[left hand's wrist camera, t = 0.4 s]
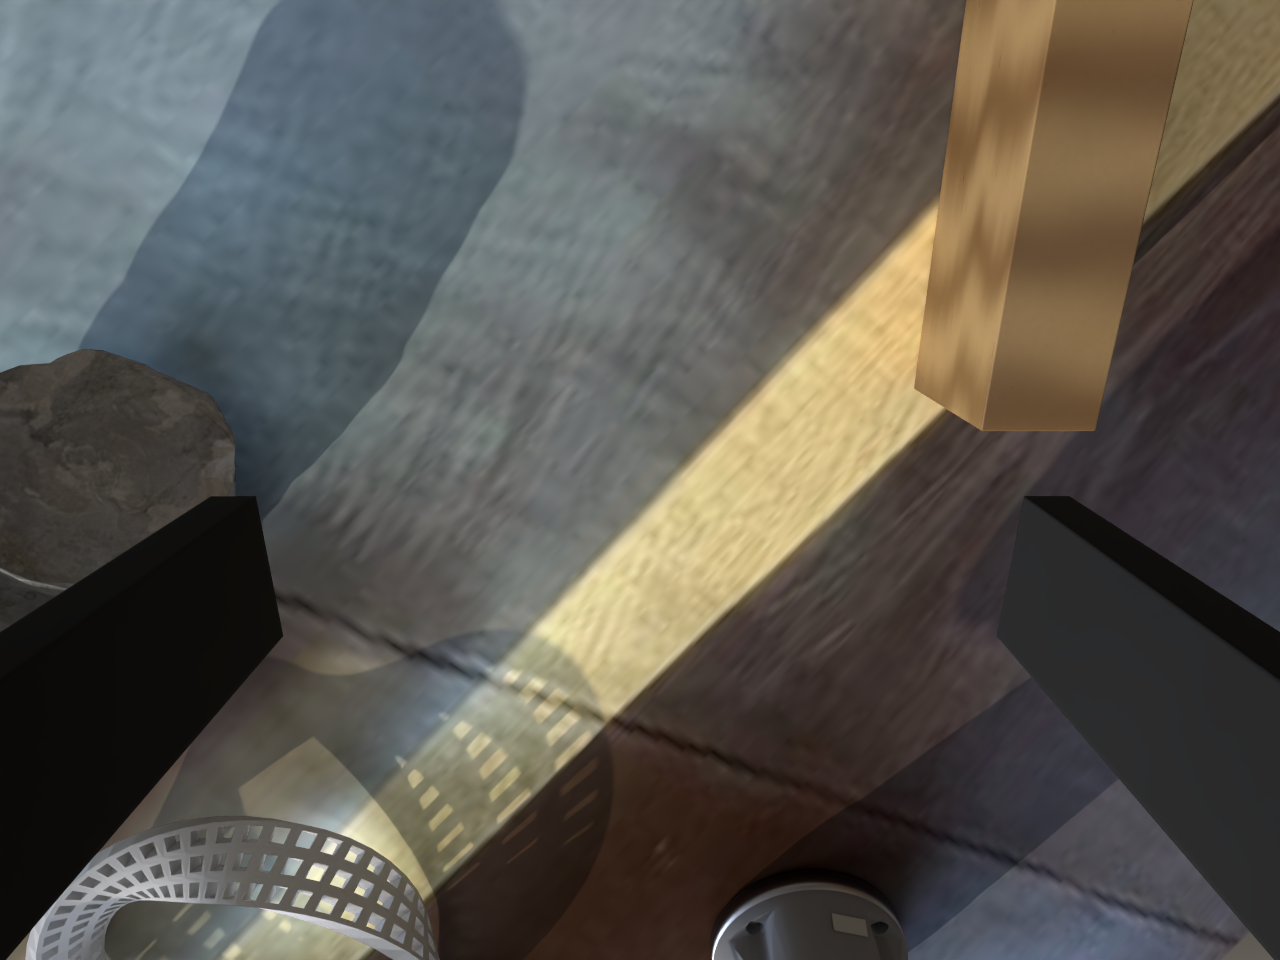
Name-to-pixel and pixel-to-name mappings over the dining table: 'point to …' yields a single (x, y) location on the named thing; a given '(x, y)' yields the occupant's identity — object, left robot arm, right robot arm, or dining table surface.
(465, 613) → the dining table surface
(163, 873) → the decorative object
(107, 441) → the decorative stone
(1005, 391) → the bar
